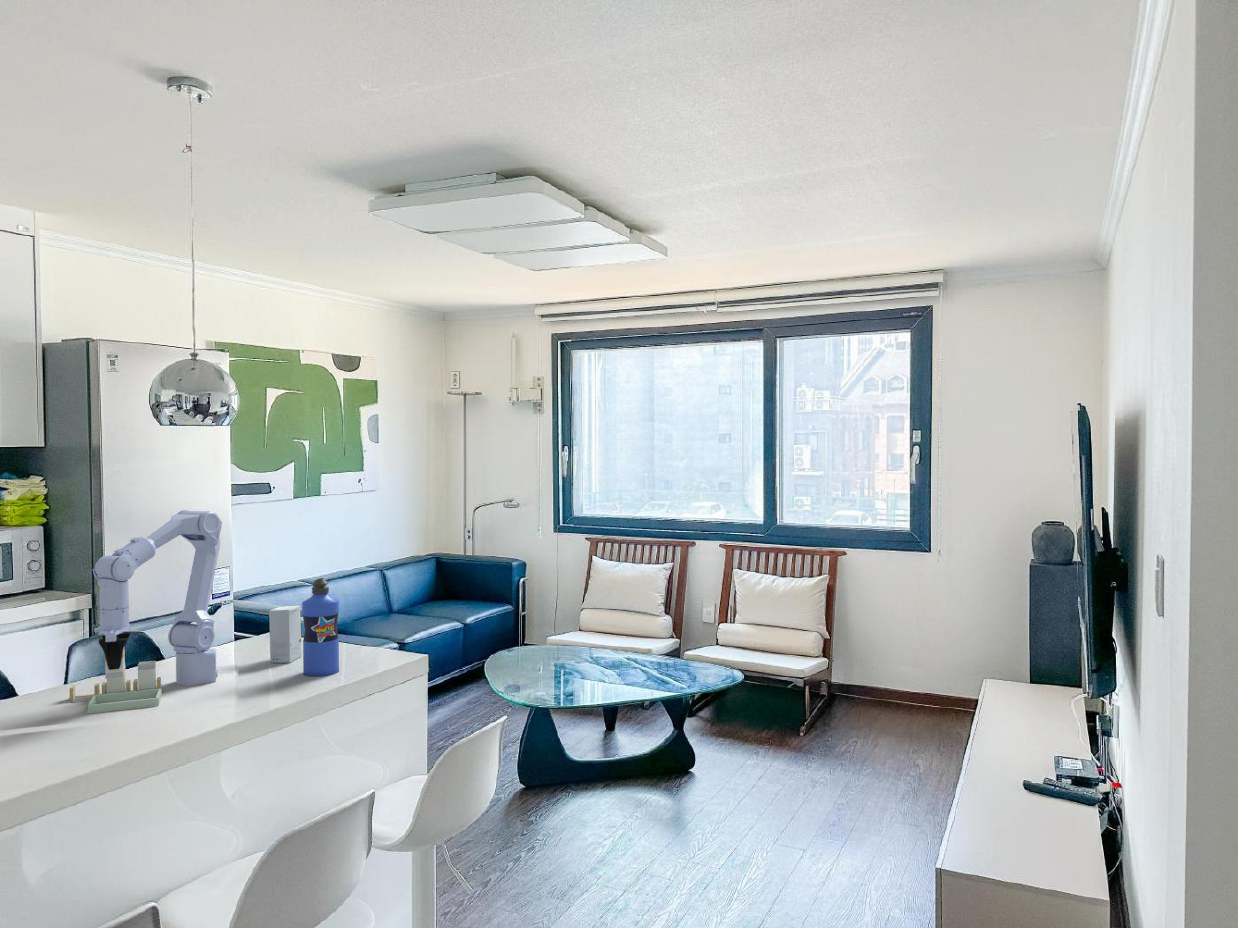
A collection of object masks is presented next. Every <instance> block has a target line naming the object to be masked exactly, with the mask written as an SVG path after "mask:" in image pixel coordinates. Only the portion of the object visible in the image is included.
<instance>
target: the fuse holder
mask: <svg viewBox="0 0 1238 928" xmlns="http://www.w3.org/2000/svg"><path fill="white" fill-rule="evenodd" d="M131 685H132V688H131ZM93 686H94V693H91V694H90V693H89V694H83V695H82V694H81V695H76V685H75V684H72V685H71V686H70V687H69V696H68V699H67V700H66V701H65V703H64V704H65V705H67V704H75V703H84V702H90V701H91V699H92V697H93V696H94V695H101V694H107V681H103V682H102V684H101V688H100V682H96V683H95V685H93ZM160 688H162V695H163V693H164V690H165V686H163V687H162V676H156V689H160ZM100 689H101V693H100ZM131 691H138V678H135V679H133V681H132V682H131V679H126V692H131Z"/></svg>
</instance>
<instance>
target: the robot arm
mask: <svg viewBox="0 0 1238 928" xmlns="http://www.w3.org/2000/svg"><path fill="white" fill-rule="evenodd" d="M222 525H223V521H222V520H221V518H220V517H219V515H218V514H217V513H216V512H215V511H212V510H189V509H188V510H187V509H186V510H185V509H181V510H180V511H178V512H177V513H175V514H173V515H171V518H170V519H169V520H168V521H167V522H165V523H164V524H163V525H161V526H160V527H159V528H157V530H155V531H153V532H152V533H151V534H150V535H148V536H147V537H143V536H139V537H132V538H130V540H129V541H130V542H128V543H127V544H126V545H124V546H123V547H121V548H117V549H115V550H113V551H114V552H113V553H112V555H103V556H101V557H100V558H99V559H98V560H97V561H96V562H95V565H94V568H92V573H93V576H94V577H95V578H96V580H97V586H98V587H99V622H100V623H99V624H100V625H99V627H95V628H94V629H93V632H94V633H100V634H103V635H102V638H99V639H98V644H99V646H100V648H101V649H102V651H103V653H104V658H105V657H106V661H107V665H108V668H109V670H113V669H119V668H120V665H121V659H122V653H123V649H124V646H125V648H126V646H127V643H128V640H129V638H130V636H131V631H130V630H131V625H130V613H129V612H130V604H129V603H130V602H129V601H130V600H129V597H130V595H129V594H130V593H129V580H130V579H132V577H133V576H134V574H135V571H136V570H137V569H138V568H139V567H141V566H142V565H143V564H145V563H146V562H147V561H149V560H152V558H154V557H155V555H156V550H157V549H158V548H159V549H160V547H162V546H164V545H165V544H167V543H169V542H170V541H172V540H174V539H176V538H178V537H179V536H180V537H182V538H184V539H185V540H186V541H188V542H189V543H190V544H191V545H192V547H194V549H195V550H194V556H193V562H192V566H191V570H190V571H191V572H190V576H189V581H188V587H187V592H186V595H185V596H186V597H185V601H184V605H183V610H182V611H181V612H180V613H179V614H177V615H176V616H175V617H174V621H173V624H172V626H171V627H170V628H169V631H168V635H167V641H168V643H169V645H170V646H171V647H173V651H174V652H175V684H176V685H177V686H195V685H201V684H209V683H210V684H211V683H216V682H217V678H218V669H217V649H216V648H210V647H211V646H212V645H213V643H214V641H215V630H214V629H215V628H214V627H215V620H214V619H213V618H212V616H210V614H209V613H208V611H209V605H210V600H211V594H212V591H213V590H212V588H213V585H214V580H215V579H214V577H215V575H216V574H215V573H216V568H217V563H218V558H219V552H220V547H221V539H220V535H221V530H222ZM195 623H196V624H195Z"/></svg>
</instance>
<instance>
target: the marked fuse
mask: <svg viewBox="0 0 1238 928" xmlns="http://www.w3.org/2000/svg"><path fill="white" fill-rule="evenodd" d="M125 652H126V647H125V646H124V649H123V653H122V659H121V665H120V668H119V669H113V670H109V668H108V665H107V661H106V657H105V656H104V666H105V667H104V670H105V671H104V675H105V676H104V678H105V680H107V678H117V677H123V676H124V674H125V675H126V662H125V661H126V659H125V658H126V657H125V655H126V653H125Z"/></svg>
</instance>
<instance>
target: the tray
mask: <svg viewBox="0 0 1238 928" xmlns="http://www.w3.org/2000/svg"><path fill="white" fill-rule="evenodd" d="M100 694H101V693H100ZM162 696H163V694H162V688H160V689H151V690H141V691H131V692H121V693H111V694H101V695H94V696H93V697H92V699H91V701H88V704H87V714H95V713H103V712H113V711H122V710H130V709H131V710H132V709H142V708H143V709H144V708H150V707H159V706H160V703H161V701H162Z"/></svg>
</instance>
